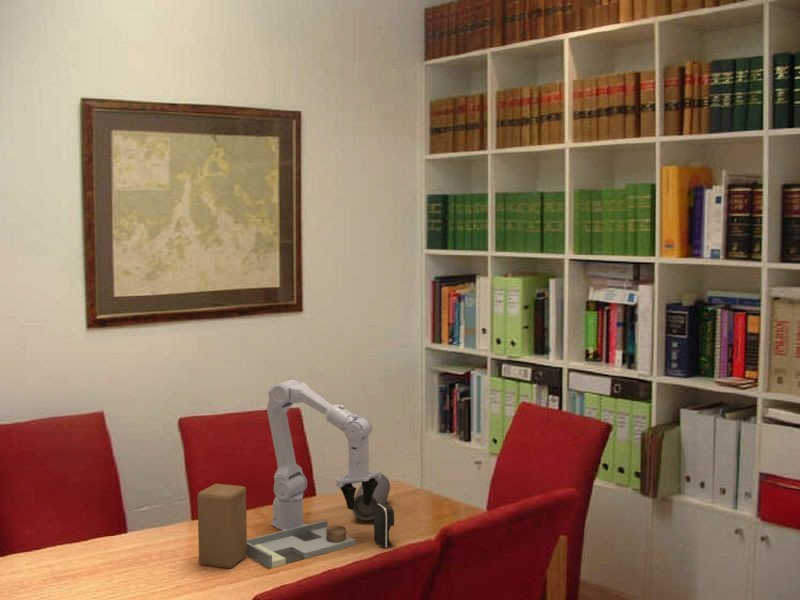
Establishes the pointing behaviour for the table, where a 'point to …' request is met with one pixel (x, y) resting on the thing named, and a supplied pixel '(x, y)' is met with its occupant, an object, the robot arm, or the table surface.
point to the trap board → (293, 545)
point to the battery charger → (383, 524)
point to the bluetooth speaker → (377, 498)
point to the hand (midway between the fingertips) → (358, 506)
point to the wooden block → (222, 525)
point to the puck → (336, 534)
